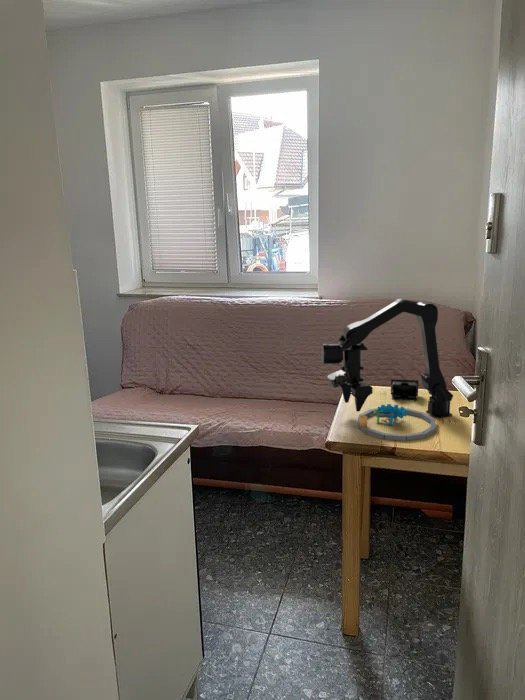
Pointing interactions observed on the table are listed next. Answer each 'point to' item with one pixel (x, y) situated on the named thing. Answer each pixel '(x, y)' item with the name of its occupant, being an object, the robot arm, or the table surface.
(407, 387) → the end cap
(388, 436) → the ring
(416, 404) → the table surface
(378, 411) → the blue spiky figure
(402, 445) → the table surface
